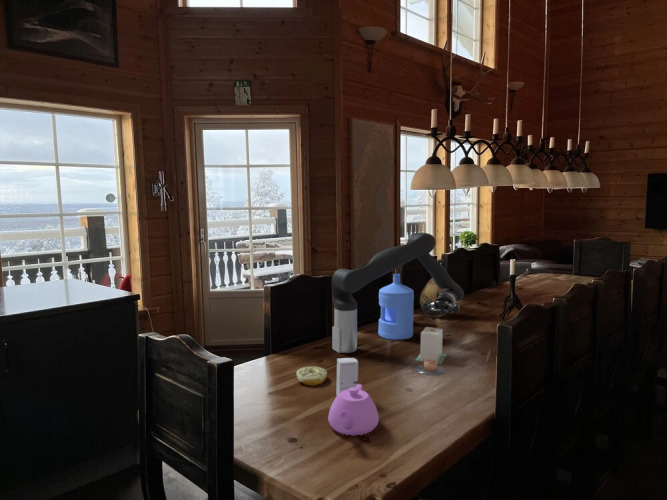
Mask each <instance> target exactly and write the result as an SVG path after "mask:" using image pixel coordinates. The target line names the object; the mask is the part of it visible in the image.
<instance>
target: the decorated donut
mask: <svg viewBox="0 0 667 500" xmlns="http://www.w3.org/2000/svg"><path fill="white" fill-rule="evenodd" d="M296 378H297V380H298V381H299V382H300V383H301V384H303V385H306V386H314V387H315V386H317V385H321V384H324V382H325V381H326V380H327V378H328V371H327V370H326V369H325V368H323V367H320V366H304V367H301V368H300V369H299V368H298V369H297V371H296Z"/></svg>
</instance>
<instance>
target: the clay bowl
mask: <svg viewBox="0 0 667 500" xmlns="http://www.w3.org/2000/svg"><path fill="white" fill-rule="evenodd" d="M423 365H424V371H427V372H436V371H437V366H438V363H437V361H435V360H425V361H424V362H423Z"/></svg>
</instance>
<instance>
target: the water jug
mask: <svg viewBox="0 0 667 500" xmlns="http://www.w3.org/2000/svg"><path fill="white" fill-rule="evenodd" d="M392 275H393V276H392V277H393V278H392V281H393V282H392V283H390V284H388V285H385V286H383V287H381V288H380V289H379V291H378V300H379V301H378V305H379V306H380V318H379V319H378V329H377V330H378V331H377V332H378V335H379V337H381V338H383V339H386V340H393V341H394V340H395V341H396V340H397V341H398V340H409V339H411V338H412V337H413V336H414V314H415V313H414V300H415V295H414V290H413V289H412V288H410V287H408V286H407V285H404V284H402V283H401V274H400V273H393V274H392Z"/></svg>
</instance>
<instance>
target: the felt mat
mask: <svg viewBox="0 0 667 500" xmlns="http://www.w3.org/2000/svg"><path fill="white" fill-rule="evenodd" d="M446 357H447V354H446V353H442V356H441V357H440V359H439V360H438V362H437V365H438V364H439V365H442V363H443V362H444V360H445V359H446ZM414 360H415V361H417V362H419V361H420V362H423V363H424V361H425V360H420V353H419V354H418V355H417V357H416V358H415V359H414Z"/></svg>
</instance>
